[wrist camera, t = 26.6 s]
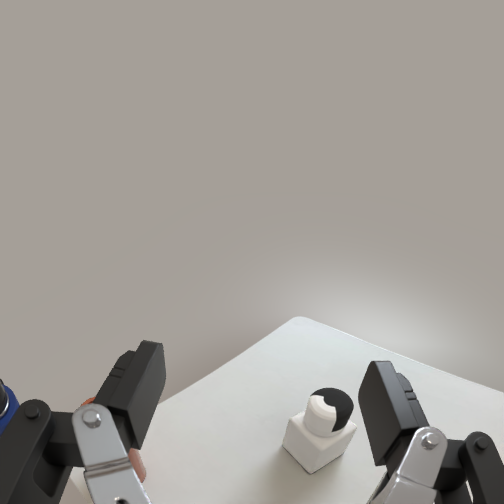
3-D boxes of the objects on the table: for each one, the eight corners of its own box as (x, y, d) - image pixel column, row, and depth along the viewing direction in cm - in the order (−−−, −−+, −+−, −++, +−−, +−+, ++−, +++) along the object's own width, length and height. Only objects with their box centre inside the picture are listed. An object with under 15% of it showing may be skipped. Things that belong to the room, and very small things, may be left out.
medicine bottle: (315, 426, 44) (333, 375, 40) (344, 452, 38) (369, 403, 34) (281, 445, 40) (294, 394, 36) (310, 475, 34) (331, 428, 30)
